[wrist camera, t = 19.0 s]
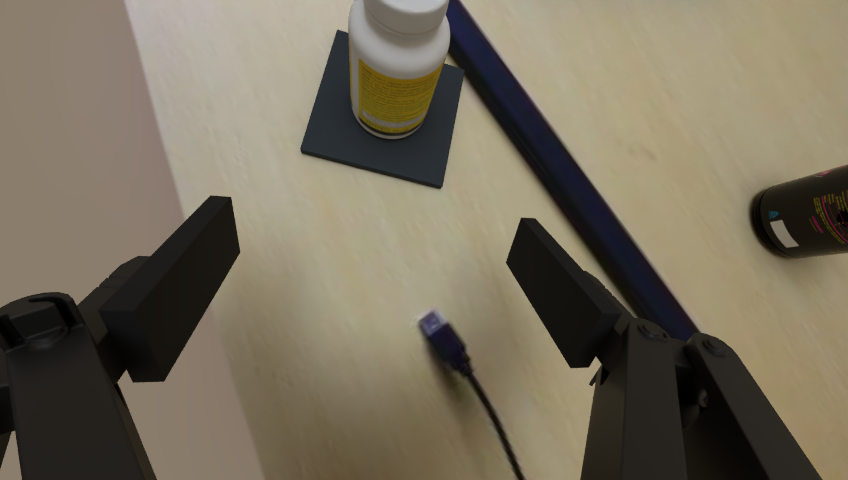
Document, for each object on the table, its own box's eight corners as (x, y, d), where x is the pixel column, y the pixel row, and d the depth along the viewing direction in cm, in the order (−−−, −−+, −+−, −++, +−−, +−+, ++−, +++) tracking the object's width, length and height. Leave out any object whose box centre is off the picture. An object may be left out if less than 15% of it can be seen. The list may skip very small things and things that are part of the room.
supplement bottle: (438, 127, 24) (488, 12, 15) (370, 151, 23) (376, 41, 13) (406, 65, 24) (435, -85, 15) (338, 86, 23) (323, -66, 14)
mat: (301, 153, 22) (299, 149, 22) (337, 35, 25) (337, 29, 24) (440, 189, 24) (442, 186, 23) (462, 74, 26) (464, 69, 25)
